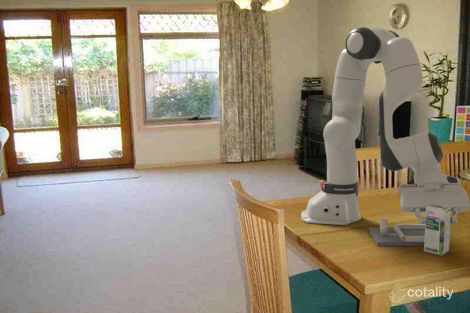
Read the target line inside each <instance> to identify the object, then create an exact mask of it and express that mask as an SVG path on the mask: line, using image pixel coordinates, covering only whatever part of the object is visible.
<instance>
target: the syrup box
mask: <svg viewBox="0 0 470 313" xmlns="http://www.w3.org/2000/svg"><path fill="white" fill-rule="evenodd" d="M425 217H426V224H425V242H424V246H423V252H424V253H430V254H433V255H437V256H440V257H442V256H443V255H445V254H447V253H448V252H449V251H450V240H451V238H450V237H451V236H450V235H451V217H452V212H451V206H445V205H436V204H430V205H428V206H427V207H426V212H425Z"/></svg>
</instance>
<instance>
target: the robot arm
mask: <svg viewBox="0 0 470 313" xmlns="http://www.w3.org/2000/svg"><path fill="white" fill-rule="evenodd" d="M344 47H345V48H344V49H343V50H342V51H341V53H340V54H339V57H338V59H337V60H338V61H337V63H336V64H337V65H336V69H335V73H334V81H333V87H332V94H331V102H332V103H331V104H332V108H331V110H332V111H331V112H332V115H331V116H332V117H331V120H329V121H328V122H327V123H326V125H325V126H324V128H323V133H322V136H323V140H324V149H325V155H326V167H327V168H326V181H324V180H323V179H322V180H320V181H319V185H320V186H321V190H320V191H319V192H318V193H317V194H315V195H314V196H312V197H310V199H309V200H308V203H307V206H306V209H304V210H302V211H301V214H300V218H301V220H302V221H303V222H305V223H307V224H319V225H321V224H323V225H336V226H337V225H340V226H347V225H350V224H351V223H355V222H358V221H360V220H361V219H362V218H361V213H360V210H359V203H358V202H359V201H358V197H359V182H358V160H357V152H356V140H357V138H359V136H360V133H361V128H362V114H363V102H364V101H363V100H364V94H365V87H366V80H367V73H368V68H369V67H370V66H371V64H373V63H374V64H376V65H377V64H382V66H383V69H384V75H385V86H384V90H383V91H381V93H380V94H379V99H378V113H379V114H378V118H379V122H378V124H379V150H378V151H379V152H378V154H379V161H380V163H381V165H382V167H383V168H384V169H386V170H388V171H390V172H393V173H394V172H397V171H400V170H404V169H408V168H411V170H412V171H413V181H414V183H410V184H407V183H402V184H401V185H399V186H398V187H397V194H398V195H399V198H400V199H399V203H400V204H399V205H400V210H401V211H402V212H404V213H413V214H414V216H415V217H416V218H417V219H418V220H419V224H426V216H423V215H422V214H421V213H426V207H427V206H428V205H430V204H436V205H445V206H451V215H453V216H451V223H450V225H456V224H458V218H457V216H458V215H459V213H460V212H461V213H464V212H467V211H468V210H469V208H470V198H469V195H468V194H467V193H468V192H467V191H466V189H465V188H464V187H463V186H462V180H461V179H460V178H459V177H456V176H455V177H454V176H452V175H447V174H445V173H443V171H442V169H441V168H440V167H441V161H442V160H443V157H444V153H443V152H442V149H441V142H440V139H439V137H438V136H436V135H435V134H433V133H431V132H423V133H418V134H414V135H413V134H412V135H410V136H405V137H400V138H394V133H393V132H394V131H393V128H394V126H393V114H394V112H395V111H396V109H397V108H398V107H399V106H401V105H403V103H405V102H406V101H408V100H409V99H411V98H412V97H414V96H415V95H416V94H417V93H418V92H419V91H420V89H421V88H422V86H423V83H424V76H423V70H422V66H421V62H420V60H419V55H418V53H417V51H416V48H415V46H414V45H413V42H412V40H411V39H409V38H407V37H405V36H400V35H399V34H398V33H396V32H394V31H393V30H390V29H389V30H388V29H384V28H380V27H366V26H365V27H364V26H363V27H358V28H354V29H352V30H351V31H350V32H349V33H348V34H347V36H346V39H345V46H344Z"/></svg>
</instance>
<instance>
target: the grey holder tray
mask: <svg viewBox="0 0 470 313" xmlns="http://www.w3.org/2000/svg"><path fill="white" fill-rule="evenodd" d="M388 222H389V221H388V219H386V218H380V219H379V227H368V232H369V234H370V236H371V237H372V239H373V241H374V243H375V245H376V246H381V247H383V246H384V247H385V246H387V247H389V246H391V247H392V246H398V247H399V246H401V247H402V246H403V247H404V246H406V247H408V246H410V247H411V246H413V247H418V246H419V247H420V246H421V247H422V246H423V247H424V242H425V224H420V223H392V227H389V224H388Z"/></svg>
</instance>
